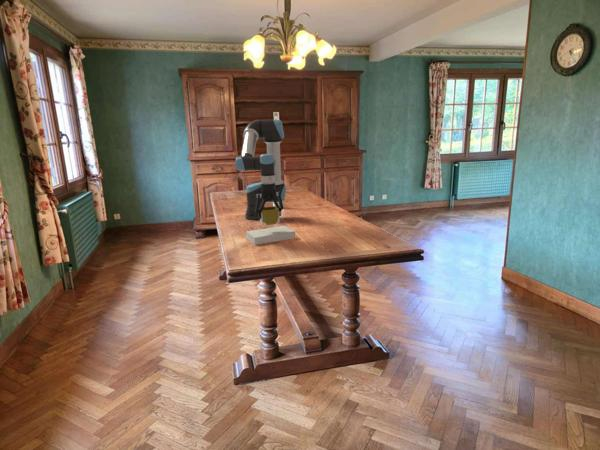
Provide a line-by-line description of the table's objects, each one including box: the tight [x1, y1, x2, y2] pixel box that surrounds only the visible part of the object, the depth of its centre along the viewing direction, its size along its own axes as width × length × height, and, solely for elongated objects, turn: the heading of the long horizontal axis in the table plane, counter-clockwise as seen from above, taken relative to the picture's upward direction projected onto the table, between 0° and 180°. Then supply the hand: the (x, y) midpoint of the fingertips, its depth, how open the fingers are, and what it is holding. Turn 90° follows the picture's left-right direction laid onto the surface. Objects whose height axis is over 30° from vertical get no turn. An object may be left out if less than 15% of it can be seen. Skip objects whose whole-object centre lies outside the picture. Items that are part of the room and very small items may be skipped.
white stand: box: [245, 225, 296, 246], centre depth 217 cm, size 14×24×4 cm, turn 117°
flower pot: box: [261, 205, 279, 226], centre depth 214 cm, size 9×9×9 cm
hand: (270, 223), depth 215 cm, fingers closed on flower pot, 9 cm apart
